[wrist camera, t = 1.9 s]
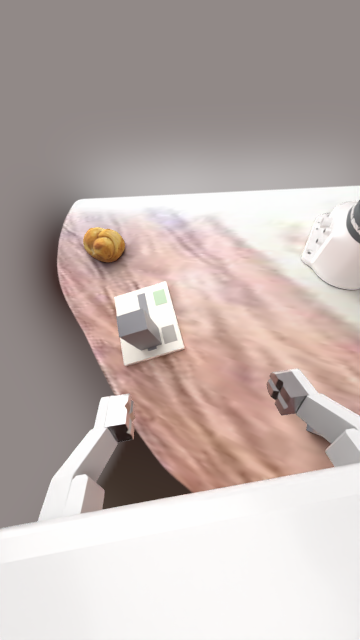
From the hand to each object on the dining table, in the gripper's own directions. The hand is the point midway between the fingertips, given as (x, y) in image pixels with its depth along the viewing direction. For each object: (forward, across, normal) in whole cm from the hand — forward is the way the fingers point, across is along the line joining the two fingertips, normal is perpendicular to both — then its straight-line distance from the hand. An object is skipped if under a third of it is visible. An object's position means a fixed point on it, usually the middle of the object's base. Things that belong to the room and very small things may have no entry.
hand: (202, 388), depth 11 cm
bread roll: (+54, +17, +7) cm, 57 cm away
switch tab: (+26, +6, +19) cm, 33 cm away
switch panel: (+32, +6, +18) cm, 37 cm away
